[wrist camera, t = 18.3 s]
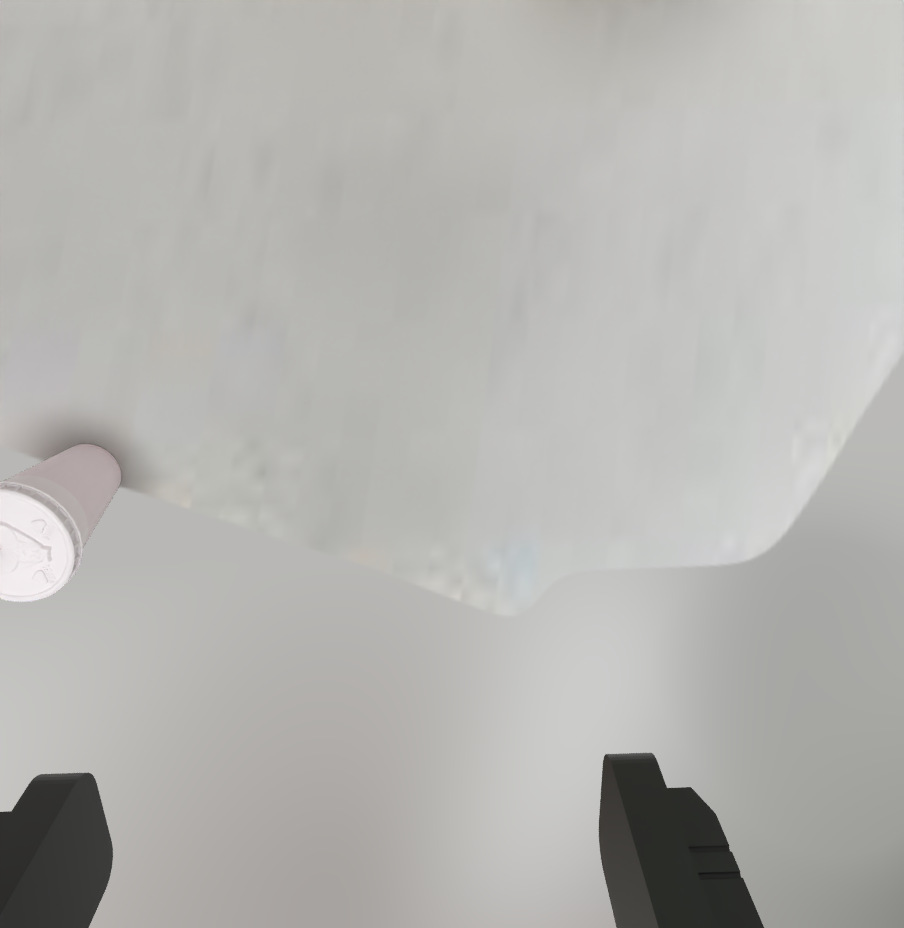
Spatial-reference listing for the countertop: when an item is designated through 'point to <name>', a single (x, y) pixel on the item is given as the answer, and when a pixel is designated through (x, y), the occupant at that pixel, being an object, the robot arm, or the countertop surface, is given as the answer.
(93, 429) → the countertop surface
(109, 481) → the smoothie
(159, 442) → the countertop surface
